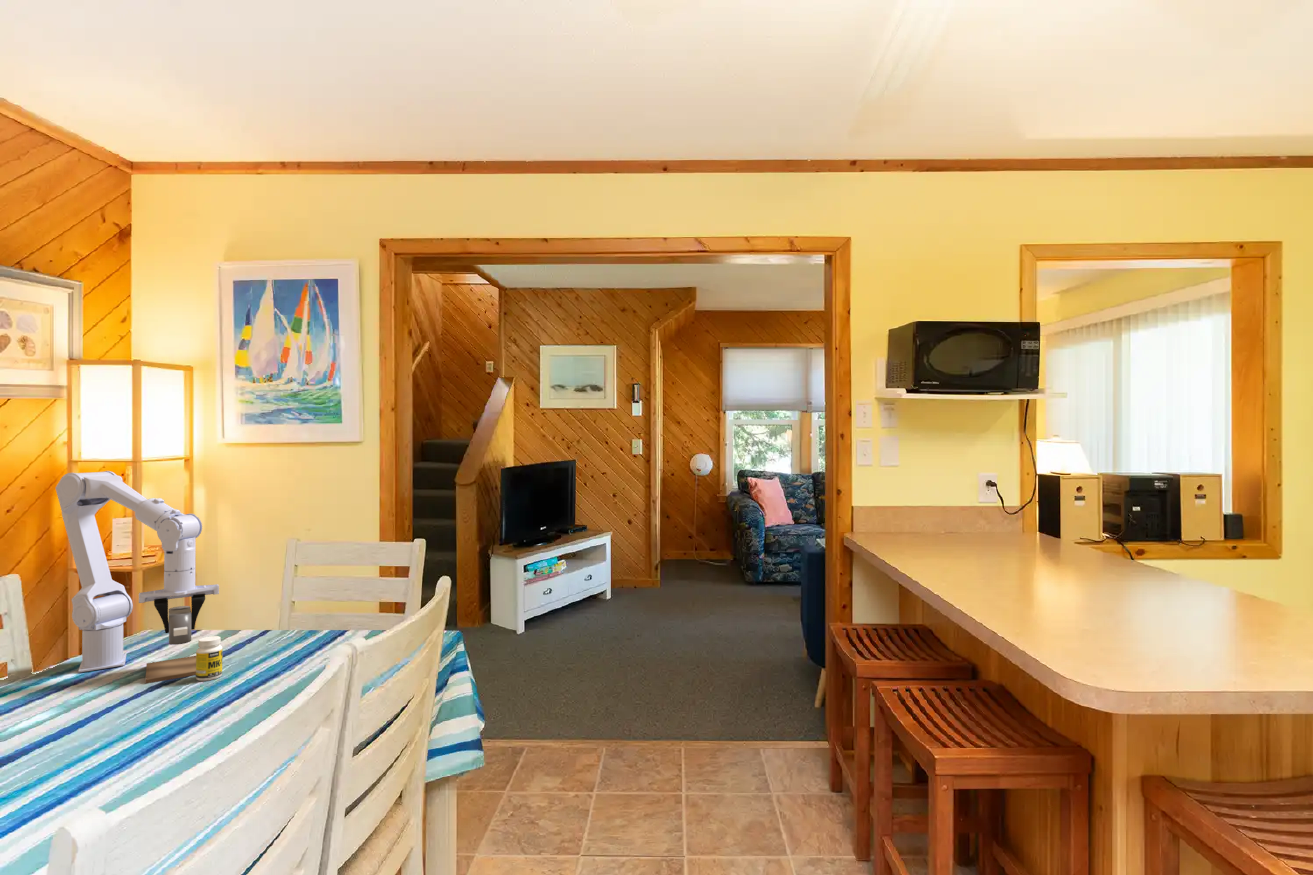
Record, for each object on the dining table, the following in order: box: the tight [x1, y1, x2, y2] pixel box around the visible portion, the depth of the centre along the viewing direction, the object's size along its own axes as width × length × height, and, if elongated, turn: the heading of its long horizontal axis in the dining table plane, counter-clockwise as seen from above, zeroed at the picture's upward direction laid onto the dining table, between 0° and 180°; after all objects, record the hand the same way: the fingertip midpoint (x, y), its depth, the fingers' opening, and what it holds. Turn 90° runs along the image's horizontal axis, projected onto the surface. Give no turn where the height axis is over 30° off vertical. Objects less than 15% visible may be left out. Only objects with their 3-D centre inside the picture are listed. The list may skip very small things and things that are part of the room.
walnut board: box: [144, 655, 196, 684], centre depth 150 cm, size 13×12×1 cm
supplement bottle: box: [195, 635, 223, 682], centre depth 144 cm, size 5×5×8 cm
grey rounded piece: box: [168, 605, 192, 646], centre depth 149 cm, size 13×4×6 cm, turn 36°
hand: (179, 630), depth 150 cm, fingers closed on grey rounded piece, 4 cm apart
